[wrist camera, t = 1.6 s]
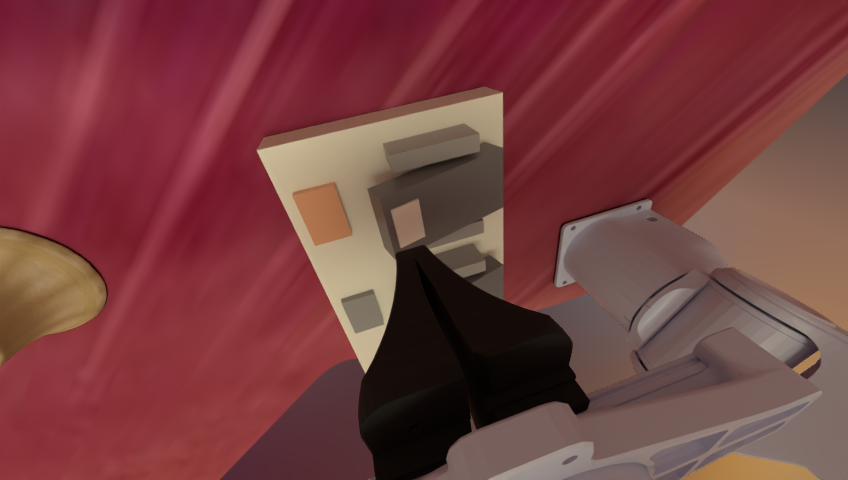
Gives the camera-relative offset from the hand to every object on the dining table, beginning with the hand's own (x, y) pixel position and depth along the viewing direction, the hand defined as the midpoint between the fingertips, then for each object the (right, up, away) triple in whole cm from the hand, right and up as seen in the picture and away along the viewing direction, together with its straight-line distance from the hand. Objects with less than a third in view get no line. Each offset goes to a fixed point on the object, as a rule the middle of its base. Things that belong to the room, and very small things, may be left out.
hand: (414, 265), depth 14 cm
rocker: (+2, +4, +4) cm, 6 cm away
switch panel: (0, -2, +13) cm, 13 cm away
